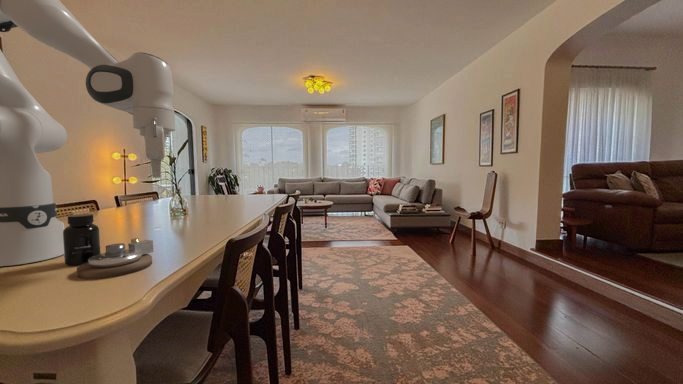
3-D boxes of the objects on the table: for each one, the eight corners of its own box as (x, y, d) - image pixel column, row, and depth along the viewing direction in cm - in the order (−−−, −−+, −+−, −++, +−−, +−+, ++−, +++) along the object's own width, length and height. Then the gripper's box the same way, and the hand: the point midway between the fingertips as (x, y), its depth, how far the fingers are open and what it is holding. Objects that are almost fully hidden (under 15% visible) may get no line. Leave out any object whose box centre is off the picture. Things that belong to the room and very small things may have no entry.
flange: (104, 269, 62) (103, 253, 62) (78, 264, 66) (77, 248, 66) (163, 253, 74) (162, 239, 74) (138, 249, 78) (137, 236, 78)
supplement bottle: (80, 267, 70) (75, 217, 69) (57, 265, 71) (53, 217, 70) (108, 258, 77) (104, 213, 76) (87, 257, 78) (83, 212, 77)
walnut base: (62, 274, 65) (60, 250, 65) (128, 256, 78) (126, 236, 78) (102, 282, 60) (100, 256, 60) (165, 262, 73) (164, 240, 73)
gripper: (170, 117, 66) (172, 178, 67) (168, 128, 84) (169, 176, 85) (136, 114, 63) (139, 179, 64) (141, 126, 80) (143, 176, 81)
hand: (156, 177), depth 74 cm, fingers closed
